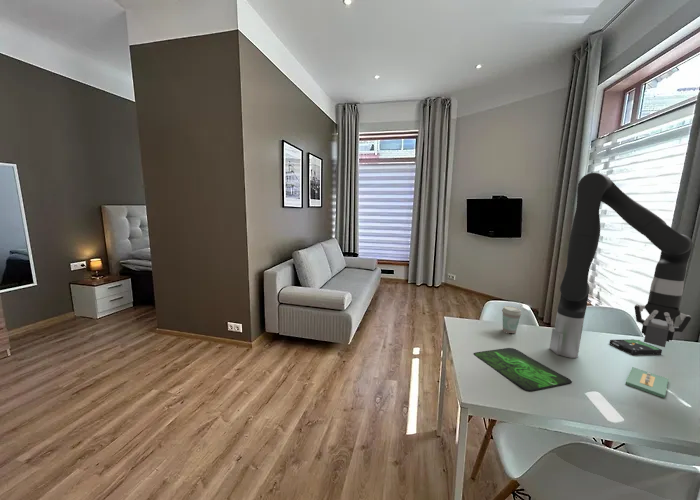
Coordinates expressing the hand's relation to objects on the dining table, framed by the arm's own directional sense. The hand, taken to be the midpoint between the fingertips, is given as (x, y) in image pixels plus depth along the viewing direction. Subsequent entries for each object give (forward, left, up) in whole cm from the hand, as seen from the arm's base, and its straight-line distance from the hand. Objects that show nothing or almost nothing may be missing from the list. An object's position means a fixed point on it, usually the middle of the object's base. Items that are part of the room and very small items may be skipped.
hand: (656, 337), depth 103 cm
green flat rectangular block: (0, 0, -17) cm, 17 cm away
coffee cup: (-34, +36, -17) cm, 52 cm away
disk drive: (+17, +30, -18) cm, 38 cm away
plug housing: (0, 0, -1) cm, 1 cm away
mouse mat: (-43, +1, -18) cm, 47 cm away
